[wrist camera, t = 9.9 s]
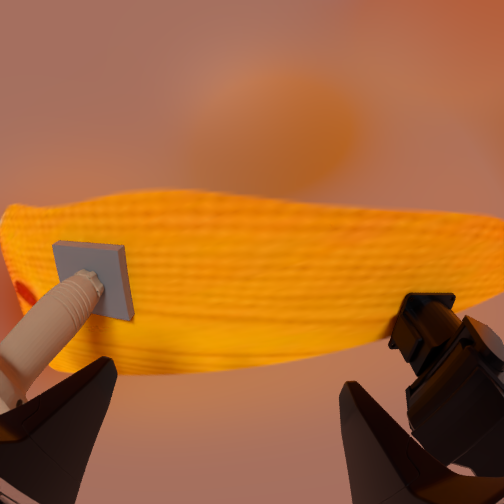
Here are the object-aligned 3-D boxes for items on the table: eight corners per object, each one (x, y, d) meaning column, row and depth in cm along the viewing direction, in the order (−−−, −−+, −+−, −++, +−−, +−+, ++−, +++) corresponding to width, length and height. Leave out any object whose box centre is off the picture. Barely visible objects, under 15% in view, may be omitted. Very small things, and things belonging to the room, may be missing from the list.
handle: (77, 306, 23) (-8, 410, 9) (67, 247, 20) (-51, 341, 6) (116, 317, 23) (36, 442, 9) (109, 255, 20) (-13, 375, 6)
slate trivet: (124, 245, 21) (117, 250, 20) (134, 313, 24) (129, 320, 23) (59, 240, 21) (52, 244, 20) (72, 301, 24) (67, 307, 23)
